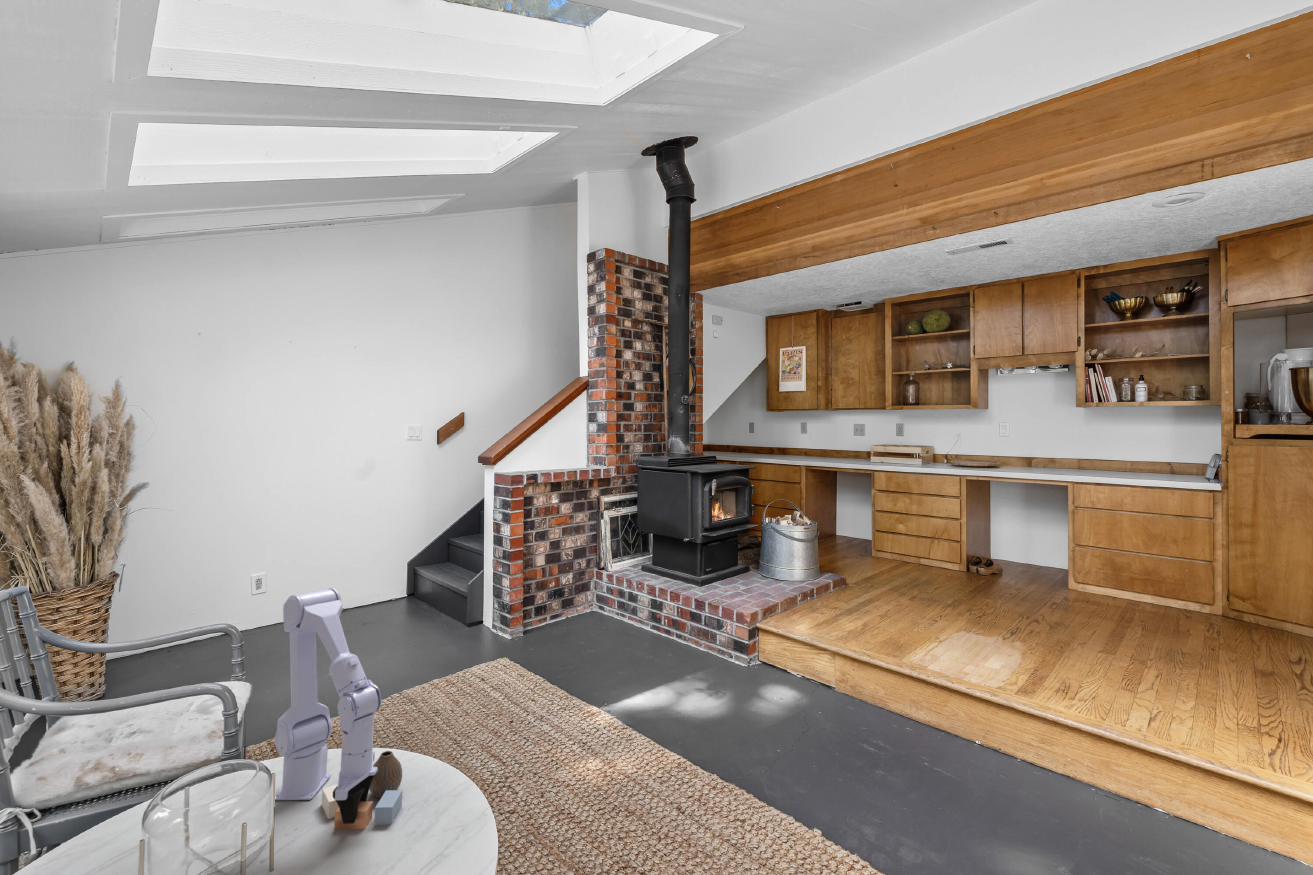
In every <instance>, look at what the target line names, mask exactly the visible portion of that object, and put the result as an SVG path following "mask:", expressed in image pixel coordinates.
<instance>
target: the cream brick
mask: <svg viewBox="0 0 1313 875" xmlns="http://www.w3.org/2000/svg"><path fill="white" fill-rule="evenodd" d="M337 786H338V783H337V784H334V785H331V786H330V785H329V786H328V787H327V786H326V787H325V788H322V790H321V806H322V809H323V811H324V813H325V815H326V817H327V819H328V820H330V819H333V818H335V811H336V810H337V809H338V807H339V806H338V804H337V802H336V800H335V799H334V798H333V791H334V789H335V788H336V787H337Z"/></svg>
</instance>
